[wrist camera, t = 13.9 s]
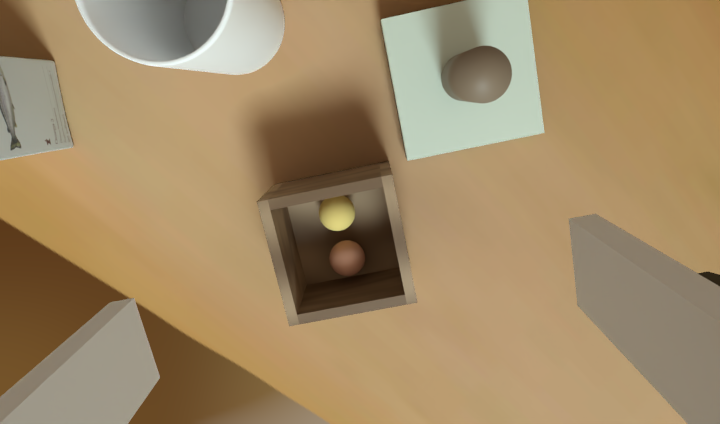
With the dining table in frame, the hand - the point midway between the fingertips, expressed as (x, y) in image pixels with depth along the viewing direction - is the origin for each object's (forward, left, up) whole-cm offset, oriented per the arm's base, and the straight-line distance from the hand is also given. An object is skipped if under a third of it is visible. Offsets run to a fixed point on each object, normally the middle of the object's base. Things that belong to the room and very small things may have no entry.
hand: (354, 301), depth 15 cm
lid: (-5, +9, -28) cm, 30 cm away
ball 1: (+3, -3, -27) cm, 27 cm away
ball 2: (+7, -3, -27) cm, 28 cm away
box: (+5, -3, -29) cm, 30 cm away
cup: (-13, -8, -29) cm, 33 cm away
